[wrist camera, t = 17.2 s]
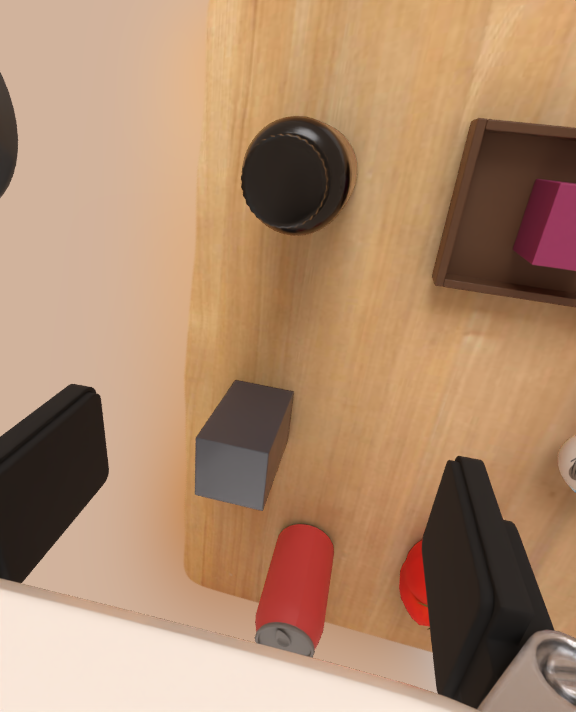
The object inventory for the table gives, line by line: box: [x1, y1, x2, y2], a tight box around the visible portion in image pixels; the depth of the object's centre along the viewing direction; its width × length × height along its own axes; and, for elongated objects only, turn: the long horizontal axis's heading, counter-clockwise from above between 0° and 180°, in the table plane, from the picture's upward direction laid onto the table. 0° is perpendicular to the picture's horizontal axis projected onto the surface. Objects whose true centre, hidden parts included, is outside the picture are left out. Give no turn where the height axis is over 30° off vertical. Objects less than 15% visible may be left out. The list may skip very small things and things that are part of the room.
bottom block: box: [195, 380, 294, 511], centre depth 40 cm, size 6×6×10 cm
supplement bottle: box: [241, 116, 357, 236], centre depth 29 cm, size 7×7×12 cm
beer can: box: [255, 524, 334, 657], centre depth 45 cm, size 7×7×12 cm
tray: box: [432, 118, 576, 307], centre depth 31 cm, size 15×11×3 cm
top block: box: [513, 179, 576, 271], centre depth 29 cm, size 5×5×5 cm
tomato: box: [399, 540, 430, 629], centre depth 44 cm, size 9×9×8 cm
